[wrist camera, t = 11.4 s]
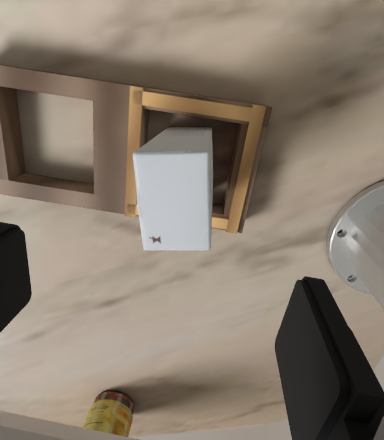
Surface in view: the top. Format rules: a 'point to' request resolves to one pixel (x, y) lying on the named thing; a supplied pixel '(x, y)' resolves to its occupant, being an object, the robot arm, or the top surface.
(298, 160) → the top surface
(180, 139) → the skincare box
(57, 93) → the wooden flat frame
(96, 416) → the sauce bottle
